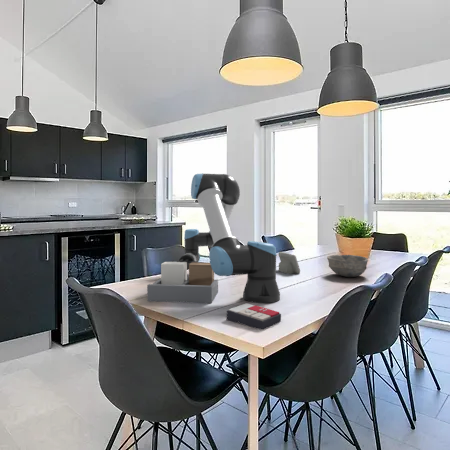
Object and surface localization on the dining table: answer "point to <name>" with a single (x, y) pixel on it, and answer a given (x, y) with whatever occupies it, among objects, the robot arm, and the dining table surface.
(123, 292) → the dining table surface
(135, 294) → the dining table surface
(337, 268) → the bowl
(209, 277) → the brown block
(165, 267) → the light grey block
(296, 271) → the grey lumpy piece
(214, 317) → the dining table surface
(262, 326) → the calculator
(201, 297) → the grey tray
